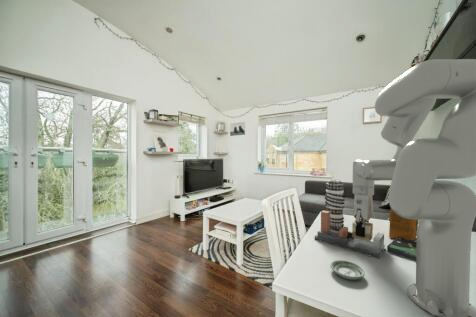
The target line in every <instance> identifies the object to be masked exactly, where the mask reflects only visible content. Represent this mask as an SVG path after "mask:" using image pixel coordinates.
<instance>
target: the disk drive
mask: <svg viewBox="0 0 476 317" xmlns="http://www.w3.org/2000/svg"><path fill="white" fill-rule="evenodd" d="M416 244H417V240H414V241H413V240H405V239H404V238H401V237H397V238H396V239H393V240H392V241H391V242H390V243H389V244H388V245H387V248H386V252H388V253H389V254H393V255H396V256H398V257H399V256H400V257H402V258H406V259H409V260H412V261H416Z"/></svg>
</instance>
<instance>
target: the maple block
mask: <svg viewBox="0 0 476 317" xmlns="http://www.w3.org/2000/svg"><path fill="white" fill-rule="evenodd" d="M360 221H361V222H362V220H360ZM364 227H365V237H360V236H356V234H355V233H356V221H355V220H354V221H353V222H352V227H351V228H352V229H351V232H352V237H354V238H357V239H361V240H364V241H367V242H370V241H371V240H373V237H374V236H373V231H374V230H373V229H374V228H373V227H374V224H373V223H372V222H369V223H368V222H365V223H364Z"/></svg>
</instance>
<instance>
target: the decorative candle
mask: <svg viewBox="0 0 476 317" xmlns="http://www.w3.org/2000/svg"><path fill="white" fill-rule="evenodd" d="M325 184H326V188H325V192H326V193H325V194H324V196H325V197H324V200H325V201H324V203H325V204H324V206H325V207H326V209H325V211H329V212H330V227H333V228H337V229H342V228H343V227H345V223H344V222H345V220H344V219H345V217H344V208H345V206H344V205H345V201H346V200H345V199H344V197H346V195H345V194H346V192H345V191H344V183H343V182H342V181H341V180H337V179H330V180H328V181H327V182H326V183H325Z"/></svg>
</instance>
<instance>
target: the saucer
mask: <svg viewBox="0 0 476 317" xmlns="http://www.w3.org/2000/svg"><path fill="white" fill-rule="evenodd" d="M329 265H330V268H331V270H332V271H334V273H335V274H336V275H338V276H339V277H341V278H343V279H347V280H359V279H361V278H364V277H365V274H366V270H365V269H364V268H363V267H362V266H361V265H360V264H357V263H355V262H353V261H349V260H344V259H337V260H332V261H331V262H330V264H329Z"/></svg>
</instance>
